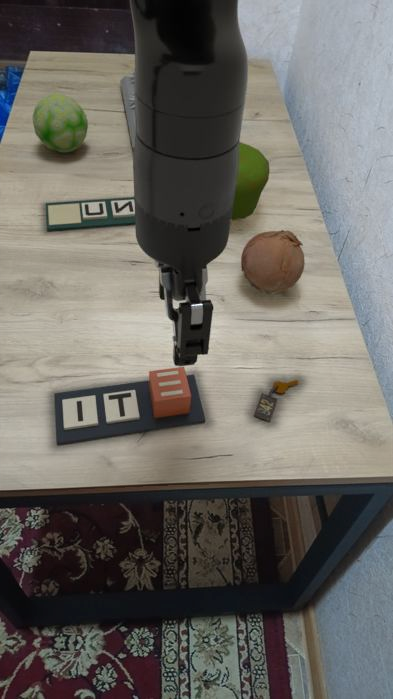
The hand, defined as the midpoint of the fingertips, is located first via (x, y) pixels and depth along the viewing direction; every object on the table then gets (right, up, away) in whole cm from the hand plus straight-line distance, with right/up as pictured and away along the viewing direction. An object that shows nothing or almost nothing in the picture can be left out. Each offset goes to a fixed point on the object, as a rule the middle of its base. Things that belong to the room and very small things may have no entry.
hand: (176, 328), depth 49 cm
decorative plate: (-2, +48, +57) cm, 74 cm away
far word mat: (-14, +21, +35) cm, 43 cm away
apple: (+7, +23, +38) cm, 45 cm away
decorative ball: (-24, +37, +46) cm, 64 cm away
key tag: (+13, -9, +15) cm, 21 cm away
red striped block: (-1, -9, +13) cm, 16 cm away
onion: (+13, +8, +28) cm, 32 cm away
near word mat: (-6, -10, +12) cm, 17 cm away
